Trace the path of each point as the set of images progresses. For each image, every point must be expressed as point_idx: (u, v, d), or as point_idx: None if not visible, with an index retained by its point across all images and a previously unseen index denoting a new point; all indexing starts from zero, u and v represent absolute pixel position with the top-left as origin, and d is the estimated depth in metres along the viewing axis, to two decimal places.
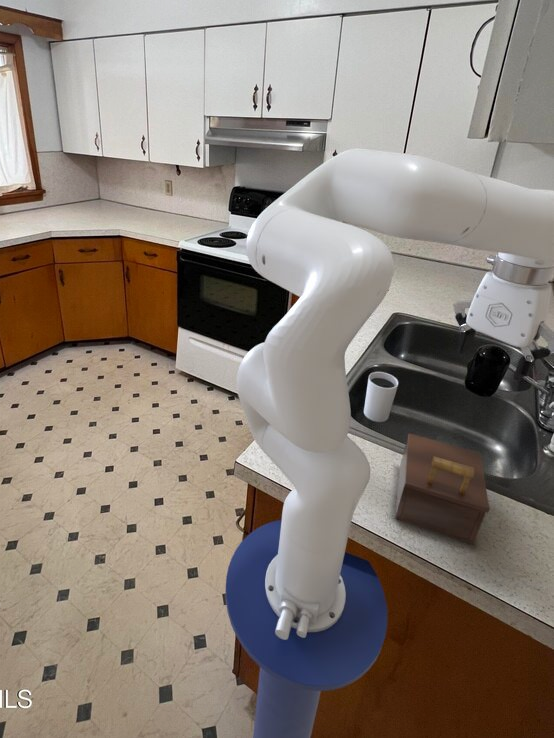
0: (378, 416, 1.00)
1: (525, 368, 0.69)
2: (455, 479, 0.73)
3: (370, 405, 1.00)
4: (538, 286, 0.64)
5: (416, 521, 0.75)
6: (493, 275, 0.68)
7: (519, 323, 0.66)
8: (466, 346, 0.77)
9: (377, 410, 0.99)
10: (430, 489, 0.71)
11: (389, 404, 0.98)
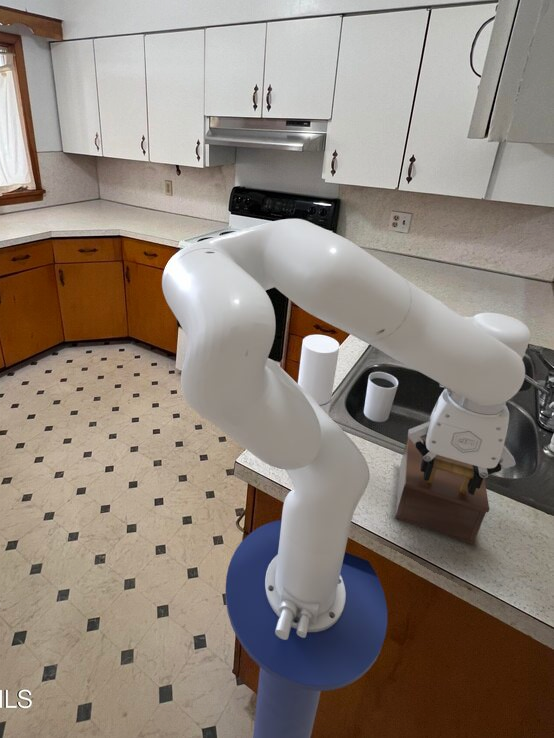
0: (378, 416, 1.00)
1: (478, 482, 0.68)
2: (455, 479, 0.73)
3: (370, 405, 1.00)
4: (502, 411, 0.61)
5: (416, 521, 0.75)
6: (456, 404, 0.63)
7: (489, 448, 0.63)
8: None
9: (377, 410, 0.99)
10: (430, 489, 0.71)
11: (389, 404, 0.98)
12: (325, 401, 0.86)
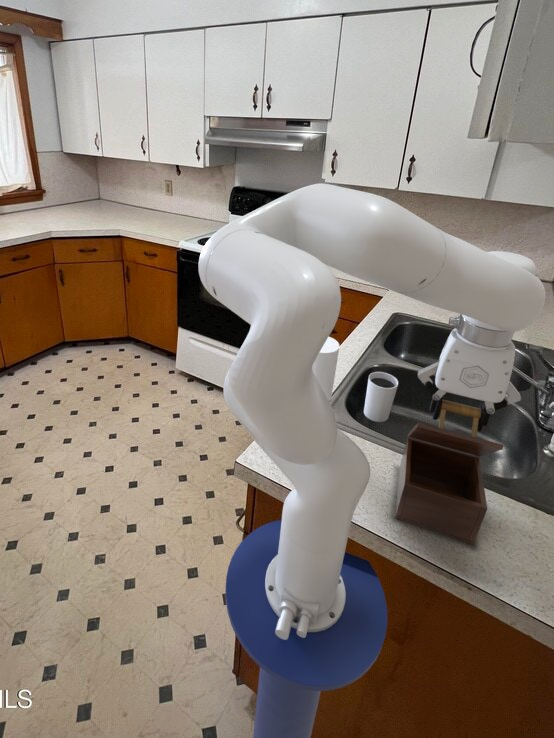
0: (378, 416, 1.00)
1: (485, 419, 0.71)
2: None
3: (370, 405, 1.00)
4: (509, 345, 0.65)
5: (416, 521, 0.75)
6: (464, 340, 0.66)
7: (496, 382, 0.66)
8: None
9: (377, 410, 0.99)
10: (443, 429, 0.71)
11: (389, 404, 0.98)
12: None
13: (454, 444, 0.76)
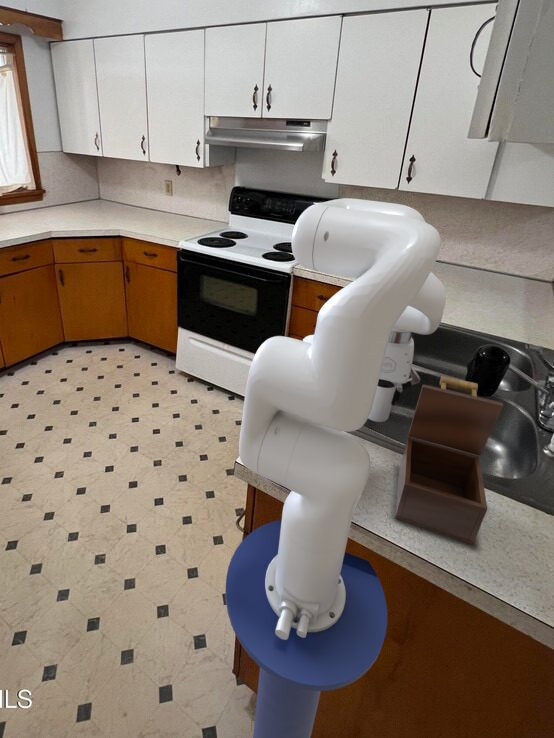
0: (378, 416, 1.00)
1: (397, 396, 0.98)
2: None
3: None
4: (409, 342, 0.91)
5: (416, 521, 0.75)
6: None
7: (401, 368, 0.93)
8: None
9: (377, 410, 0.99)
10: None
11: (389, 404, 0.98)
12: None
13: (456, 426, 0.77)
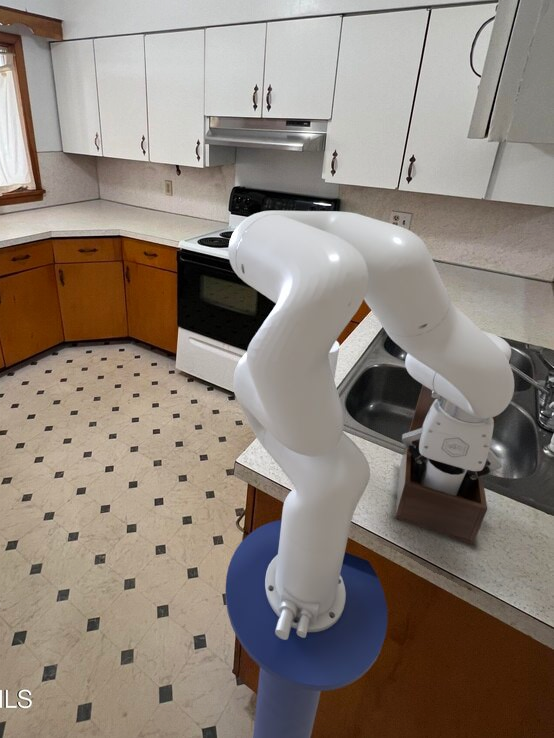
0: None
1: (468, 484, 0.74)
2: None
3: None
4: (487, 419, 0.68)
5: (416, 521, 0.75)
6: (445, 413, 0.69)
7: (476, 453, 0.70)
8: None
9: None
10: None
11: (455, 493, 0.75)
12: None
13: None
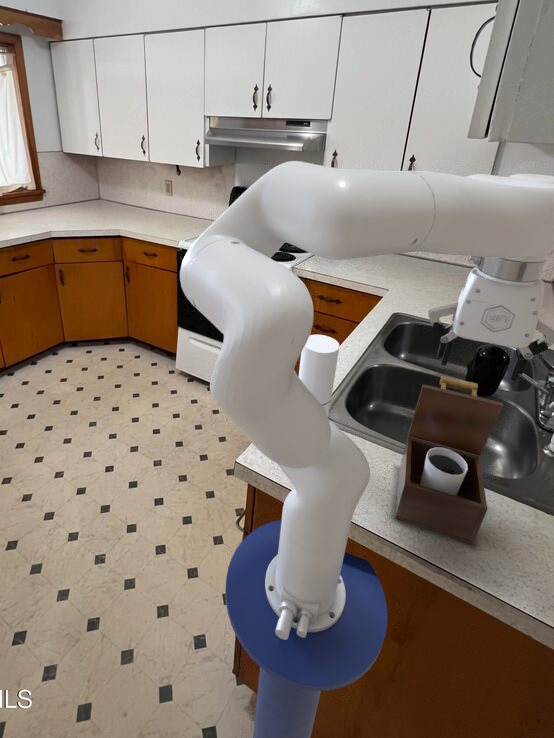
0: None
1: (521, 366, 0.63)
2: None
3: None
4: (537, 280, 0.58)
5: (416, 521, 0.75)
6: (487, 276, 0.59)
7: (522, 323, 0.59)
8: None
9: None
10: None
11: (455, 493, 0.75)
12: (325, 401, 0.86)
13: (456, 426, 0.77)
